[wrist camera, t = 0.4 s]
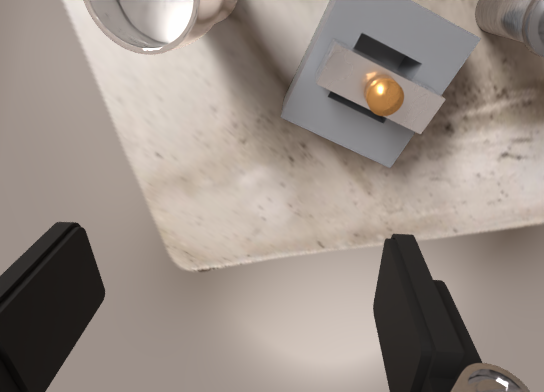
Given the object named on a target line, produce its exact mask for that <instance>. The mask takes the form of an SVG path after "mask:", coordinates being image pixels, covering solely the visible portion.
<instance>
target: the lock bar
mask: <svg viewBox="0 0 544 392" xmlns="http://www.w3.org/2000/svg"><path fill="white" fill-rule="evenodd" d="M315 79H316V84H318V85H320V86H322V87H324V88H326V89H328V90H330V91H332V92H334V93H336V94H338V95H340V96H342V97H344V98H346V99H349V100H351V101H353V102H355V103H357V104H359V105H361V106H363V107H365V108H367V109H369V110H371V111H372V112H373V113H374V114H376V115H379V116H384V117H386V118H388V119H390V120H392V121H394V122H396V123H398V124H400V125H402V126H404V127H406V128H408V129H410V130H412V131H415V132H417V133H419V134H422V132H423V131H424V129H425V128H426V126H427V125H428V124H429V122H430V121H431V119H432V118H433V117H434V115H435V114H436V112H437V111H438V110H439V108H440V107H441V105H442V104H443V103H444V101H445V100H446V99H445V98H444V97H443V96H441V95H440V94H439V93H438V92H437V91H435V90H434V89H433V88H431V87H429V86H427V85H425V84H423V83H421V82H419V81H417V80H415V79H413V78H411V77H409V76H407V75H405V74H403V73H401V72H399V71H397V70H395V69H393V68H391V67H390V66H388V65H386V64H384V63H382V62H380V61H378V60H376V59H374V58H372V57H370V56H368V55H366V54H364V53H362V52H360V51H358V50H356V49H354V48H352V47H350V46H348V45H346V44H344V43H342V42H340V41H338V40H337V39H335V38H333V40H332V42H331V44H330V46H329V48H328V50H327V52H326V54H325V56H324V58H323V60H322V62H321V64H320V66H319V68H318V70H317V72H316V74H315Z"/></svg>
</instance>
